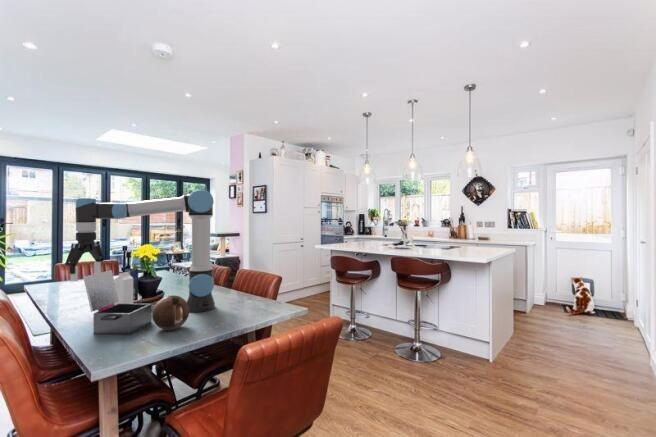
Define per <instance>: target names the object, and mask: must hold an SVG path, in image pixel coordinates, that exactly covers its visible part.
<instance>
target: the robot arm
mask: <svg viewBox="0 0 656 437" xmlns="http://www.w3.org/2000/svg"><path fill="white" fill-rule="evenodd" d="M214 203H215V202H214V197H213V195H212V193H210V191H208V190H205V189H201V188H200V189H194V190H193V191H191V192H190V193H189V194H182V196H179V197H169V198H161V199H160V198H159V199H158V198H157V199H149V200H148V199H147V200H141V201H132V202H131V201H130V202H98V201H97V199H96V198H95V197H94V198H92V197H78V198H77V199H76V200H75V232H76V233H75V241H77V243H74V242H73V243H71V247H70V250H69V253H68V256H67V259H66V260H65V263H64V265H65V266H66V267H69V275H70V277H69V278H70V282H78V281H79V268H78V266H79V265H78V263H79V261H80V260H81V258H82V257H83V254H85V253H89V255H91V257H92V258H93V260H94V262H93V274H97V273H101V272H102V262H104V260H105V259H106V257H105V255H104V252H103V249H102V247H101V243H100V241H98V240H97V232H96V231H97V219H99V220H100V219H101V220H103V219H104V220H105V219H106V220H108V219H109V220H110V219H111V220H119V219H121V220H122V219H126V218H134V217H142V216H150V215H160V214H168V213H170V214H171V213H176V212H185V213H188V217H189V218H190V219H191V267H190V268H189V269H188V297H187V301H186V302H187V304H188V306H189V313H199V312H200V313H201V312H207V311H211V310H214V309H215V308H216V303H215V300H214V296H213V294H212V293H213V292H212V291H213V289H214V287H215V281H214V268H213V266H211V236H210V235H211V231H210V230H211V227H210V226H211V218H212V217H213V216H214V211H213V210H214V207H213V206H214ZM96 240H97V241H96Z"/></svg>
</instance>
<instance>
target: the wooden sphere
mask: <svg viewBox="0 0 656 437" xmlns="http://www.w3.org/2000/svg"><path fill="white" fill-rule="evenodd" d="M189 316H190V312H189V306H188V304H187V301H186V300H185V299H184V298H183V297H181V296H179V295H168V296H164V297H162V298H161V299H159V300H158V301H157V303H155V306H153V309H152V313H151V317H152V320H153V323H154V324H155V325H156V326H157V327H158V328H159V329H161V330H165V331H172V330H176V329H179V328H180V327H181V326H183V325H184V324H185V323H186V321H187V320H188V318H189Z"/></svg>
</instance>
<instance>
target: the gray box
mask: <svg viewBox="0 0 656 437" xmlns="http://www.w3.org/2000/svg"><path fill="white" fill-rule="evenodd" d="M150 324H152V304H151V303H133V304H116V305H114V304H113V306H111V307H109V308H106V309H104V310H101V311H98V310H97V311H95V312H94V313H93V335H112V336H113V335H114V336H115V335H121V336H123V335H124V336H125V335H126V336H130V335H132V334H134V333H135V332H138V331H139V330H141V329H143V328H145V327H147V326H148V325H150Z"/></svg>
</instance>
